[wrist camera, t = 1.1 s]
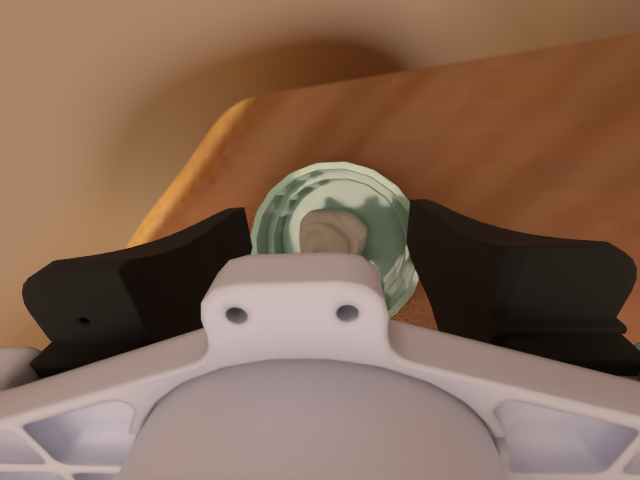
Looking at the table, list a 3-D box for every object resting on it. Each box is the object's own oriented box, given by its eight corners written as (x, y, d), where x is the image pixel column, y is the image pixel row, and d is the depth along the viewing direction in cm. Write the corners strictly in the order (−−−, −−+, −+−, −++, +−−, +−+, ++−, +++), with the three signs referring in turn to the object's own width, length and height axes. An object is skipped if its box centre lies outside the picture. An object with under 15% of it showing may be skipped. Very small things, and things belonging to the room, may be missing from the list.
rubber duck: (335, 189, 24) (314, 188, 16) (393, 249, 23) (400, 277, 16) (290, 235, 25) (250, 255, 17) (344, 291, 25) (328, 337, 17)
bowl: (414, 313, 24) (421, 339, 20) (275, 306, 27) (255, 328, 22) (417, 163, 22) (427, 157, 18) (268, 170, 25) (245, 166, 20)
